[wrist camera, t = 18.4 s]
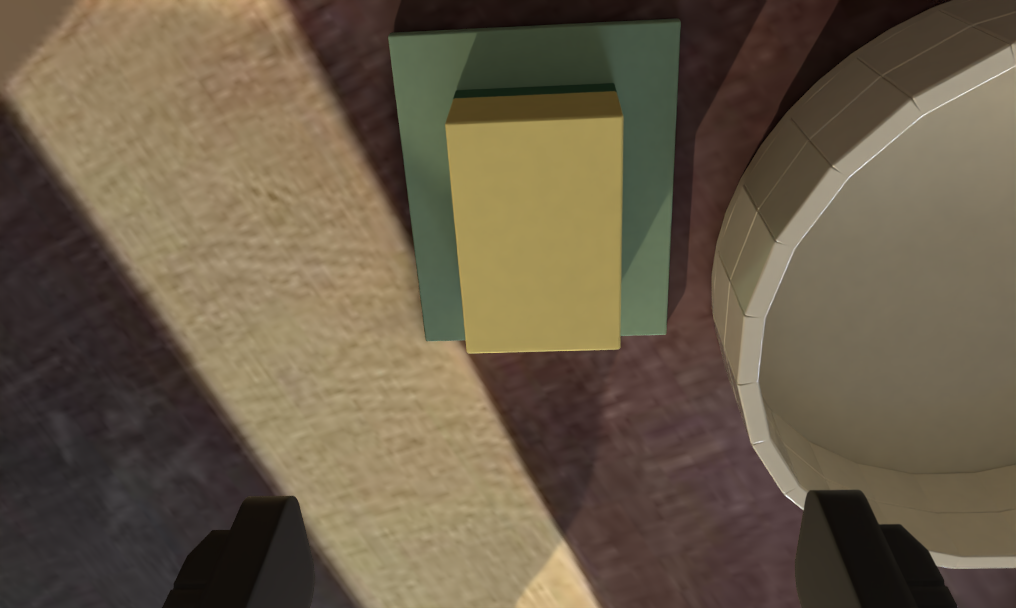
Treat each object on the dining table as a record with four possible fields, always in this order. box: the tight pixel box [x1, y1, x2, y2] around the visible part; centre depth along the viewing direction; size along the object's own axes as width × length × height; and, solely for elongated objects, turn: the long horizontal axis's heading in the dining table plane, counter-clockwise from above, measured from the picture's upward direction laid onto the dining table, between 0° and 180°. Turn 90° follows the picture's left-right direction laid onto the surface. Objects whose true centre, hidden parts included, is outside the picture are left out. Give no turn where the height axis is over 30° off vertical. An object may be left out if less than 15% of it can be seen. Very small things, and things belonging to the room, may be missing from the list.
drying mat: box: [388, 19, 681, 341], centre depth 25 cm, size 10×8×1 cm
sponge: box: [445, 83, 624, 353], centre depth 24 cm, size 7×4×3 cm, turn 3°
